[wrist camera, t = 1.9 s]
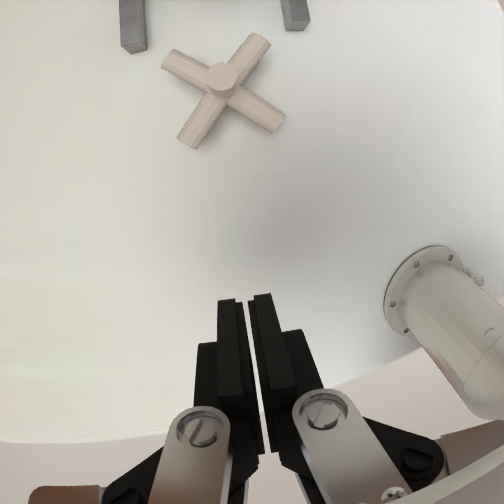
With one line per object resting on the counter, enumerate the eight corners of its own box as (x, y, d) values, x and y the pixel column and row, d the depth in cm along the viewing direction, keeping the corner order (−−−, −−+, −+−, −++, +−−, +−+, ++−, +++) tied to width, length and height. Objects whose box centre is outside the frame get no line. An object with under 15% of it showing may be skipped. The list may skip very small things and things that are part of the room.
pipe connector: (299, 84, 25) (335, 62, 16) (239, 169, 28) (245, 188, 18) (209, 29, 22) (200, -17, 13) (148, 115, 25) (109, 108, 16)
